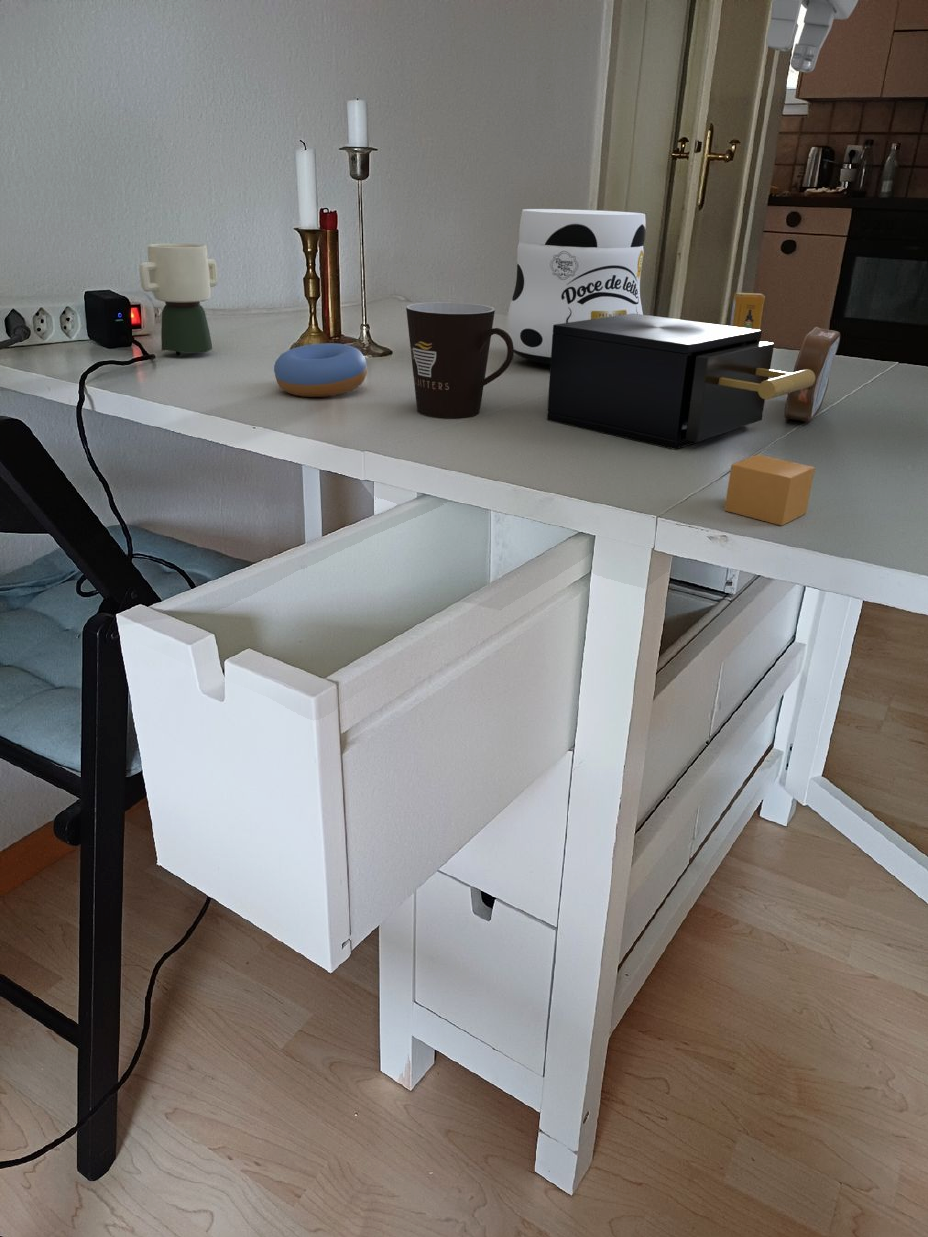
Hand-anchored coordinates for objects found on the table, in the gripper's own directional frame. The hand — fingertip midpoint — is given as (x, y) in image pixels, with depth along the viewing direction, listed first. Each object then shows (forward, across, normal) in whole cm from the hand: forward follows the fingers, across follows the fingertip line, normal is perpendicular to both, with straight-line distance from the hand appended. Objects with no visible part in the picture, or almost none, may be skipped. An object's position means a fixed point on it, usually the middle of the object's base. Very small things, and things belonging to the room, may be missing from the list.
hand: (789, 60), depth 74 cm
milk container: (+33, +29, +24) cm, 50 cm away
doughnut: (+37, -4, +39) cm, 54 cm away
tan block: (+30, -19, -12) cm, 38 cm away
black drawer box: (+31, +3, +4) cm, 32 cm away
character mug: (+40, +3, +66) cm, 77 cm away
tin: (+29, +16, -8) cm, 34 cm away
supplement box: (+30, +31, +3) cm, 43 cm away
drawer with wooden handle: (+30, +1, 0) cm, 30 cm away
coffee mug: (+34, -6, +22) cm, 41 cm away
